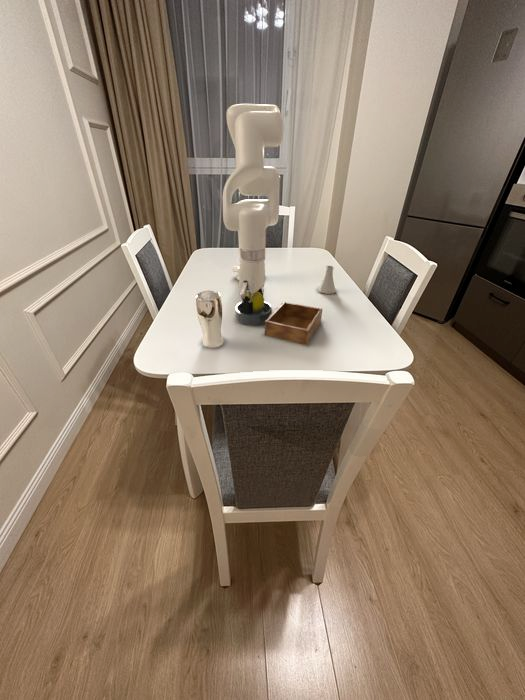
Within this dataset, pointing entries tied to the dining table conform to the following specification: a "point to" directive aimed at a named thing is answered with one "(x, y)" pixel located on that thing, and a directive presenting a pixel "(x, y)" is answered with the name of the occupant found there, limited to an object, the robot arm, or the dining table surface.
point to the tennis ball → (257, 301)
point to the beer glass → (210, 317)
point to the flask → (327, 282)
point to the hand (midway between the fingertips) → (253, 307)
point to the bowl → (253, 315)
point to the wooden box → (293, 322)
